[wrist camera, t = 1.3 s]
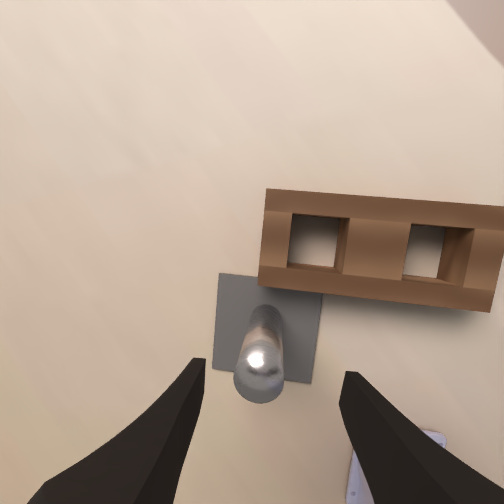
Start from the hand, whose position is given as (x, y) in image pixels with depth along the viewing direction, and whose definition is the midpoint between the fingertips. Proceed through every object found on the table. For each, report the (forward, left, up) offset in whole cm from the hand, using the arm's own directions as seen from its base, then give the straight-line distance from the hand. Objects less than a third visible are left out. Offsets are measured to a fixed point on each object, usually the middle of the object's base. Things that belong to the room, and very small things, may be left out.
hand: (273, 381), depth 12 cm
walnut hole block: (+7, -7, -11) cm, 15 cm away
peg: (-1, +1, -11) cm, 11 cm away
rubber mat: (-2, +1, -11) cm, 11 cm away
